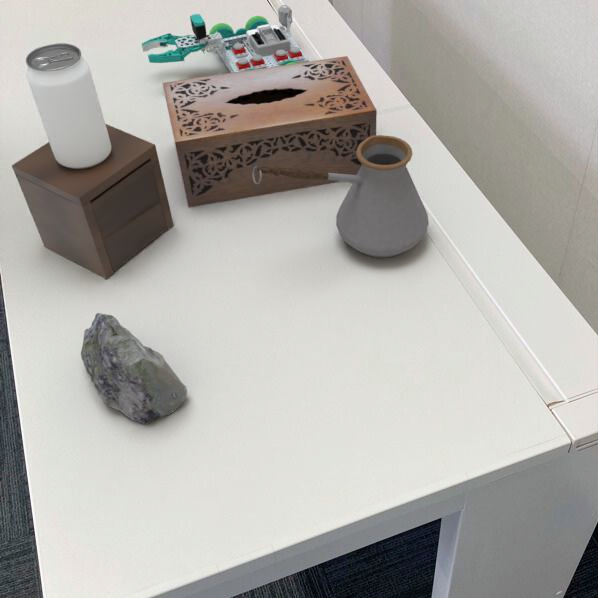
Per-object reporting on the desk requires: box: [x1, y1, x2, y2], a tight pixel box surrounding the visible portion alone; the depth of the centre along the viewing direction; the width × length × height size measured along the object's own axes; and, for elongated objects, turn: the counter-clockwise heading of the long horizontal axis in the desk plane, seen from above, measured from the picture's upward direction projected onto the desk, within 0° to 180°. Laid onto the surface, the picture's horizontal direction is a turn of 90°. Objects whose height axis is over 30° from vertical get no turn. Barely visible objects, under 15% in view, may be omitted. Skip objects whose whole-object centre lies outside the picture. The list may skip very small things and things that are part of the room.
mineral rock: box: [80, 312, 188, 425], centre depth 79 cm, size 13×11×10 cm
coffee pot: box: [252, 134, 430, 258], centre depth 91 cm, size 21×12×15 cm, turn 113°
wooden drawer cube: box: [11, 123, 175, 280], centre depth 94 cm, size 11×12×12 cm
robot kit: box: [141, 4, 310, 73], centre depth 121 cm, size 19×25×9 cm
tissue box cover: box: [162, 55, 378, 208], centre depth 105 cm, size 26×14×10 cm, turn 105°
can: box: [25, 42, 111, 169], centre depth 85 cm, size 6×6×12 cm
